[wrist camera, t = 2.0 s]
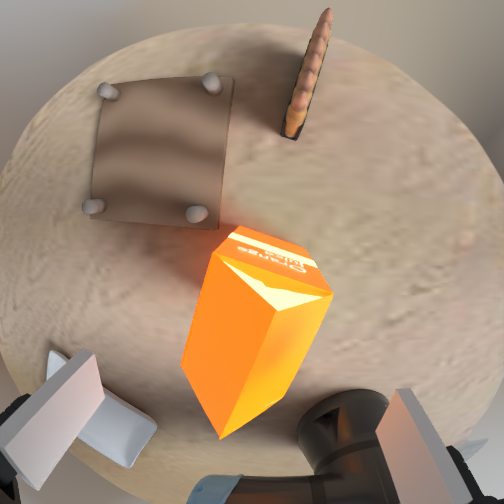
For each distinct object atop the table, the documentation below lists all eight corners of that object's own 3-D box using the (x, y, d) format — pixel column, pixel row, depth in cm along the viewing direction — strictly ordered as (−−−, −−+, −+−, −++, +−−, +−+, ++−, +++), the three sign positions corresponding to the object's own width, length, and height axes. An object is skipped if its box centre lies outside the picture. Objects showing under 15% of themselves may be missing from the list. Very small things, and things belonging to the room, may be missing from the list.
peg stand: (218, 228, 31) (209, 234, 26) (96, 217, 31) (75, 221, 27) (234, 81, 27) (229, 65, 23) (112, 88, 28) (94, 78, 23)
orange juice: (215, 296, 32) (151, 418, 13) (238, 224, 30) (183, 275, 11) (278, 318, 32) (285, 456, 13) (306, 248, 30) (363, 334, 11)
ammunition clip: (296, 141, 28) (313, 108, 17) (280, 136, 28) (286, 99, 17) (320, 62, 26) (343, 5, 14) (305, 57, 26) (320, -2, 14)
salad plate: (51, 403, 40) (43, 412, 37) (59, 339, 36) (47, 348, 33) (134, 460, 41) (129, 471, 38) (166, 412, 37) (159, 426, 34)
